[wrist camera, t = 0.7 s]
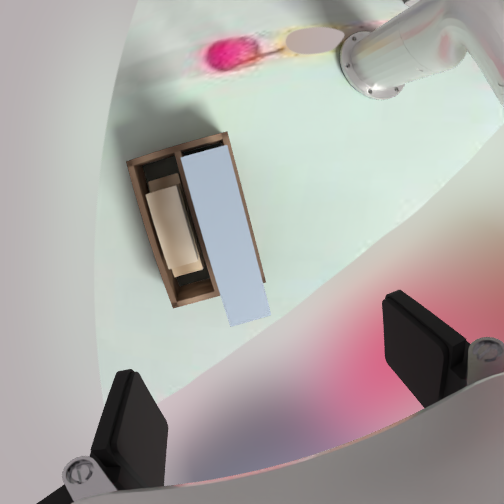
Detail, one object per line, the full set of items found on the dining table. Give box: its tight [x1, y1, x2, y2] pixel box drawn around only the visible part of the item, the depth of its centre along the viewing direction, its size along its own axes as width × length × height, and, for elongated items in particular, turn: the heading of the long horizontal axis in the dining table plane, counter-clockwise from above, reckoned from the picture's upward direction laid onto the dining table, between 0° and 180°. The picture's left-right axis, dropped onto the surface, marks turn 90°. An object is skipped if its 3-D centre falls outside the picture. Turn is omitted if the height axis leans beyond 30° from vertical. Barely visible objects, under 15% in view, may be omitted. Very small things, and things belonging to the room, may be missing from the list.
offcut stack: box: [146, 173, 205, 277], centre depth 43 cm, size 4×14×8 cm, turn 14°
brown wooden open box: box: [126, 132, 266, 308], centre depth 44 cm, size 13×21×6 cm, turn 14°
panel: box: [181, 145, 271, 326], centre depth 37 cm, size 4×16×20 cm, turn 14°
